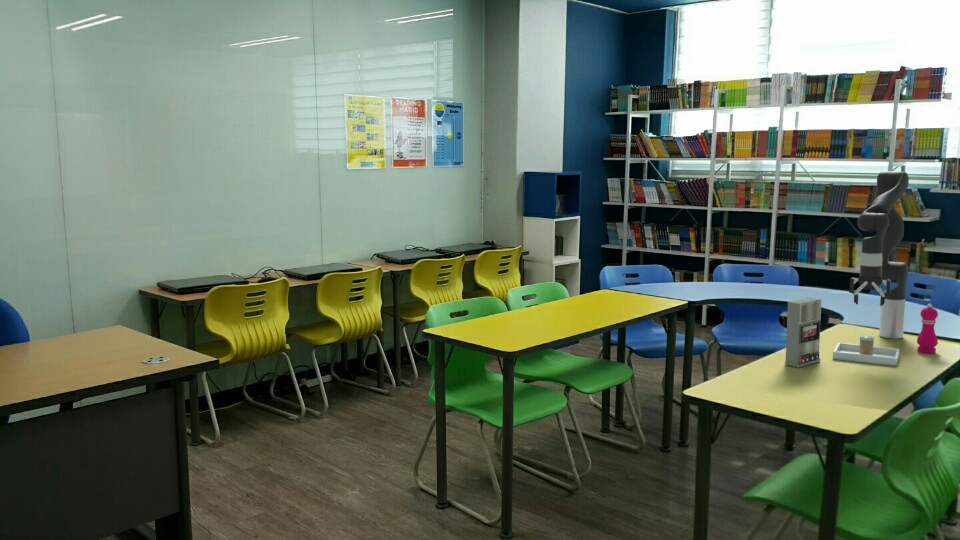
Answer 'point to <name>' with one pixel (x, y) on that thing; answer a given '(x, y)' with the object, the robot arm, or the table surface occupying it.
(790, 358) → the cassette tape recorder
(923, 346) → the pepper mill
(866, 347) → the shaker
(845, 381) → the table surface
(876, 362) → the tray
